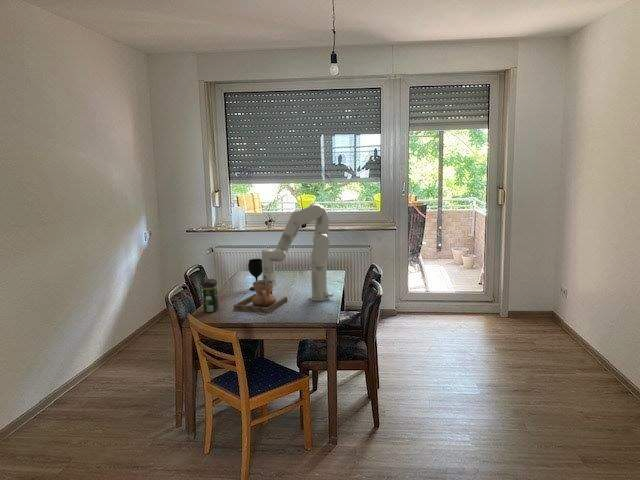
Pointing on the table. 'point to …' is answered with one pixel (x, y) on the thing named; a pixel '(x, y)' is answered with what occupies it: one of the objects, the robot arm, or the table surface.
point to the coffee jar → (210, 295)
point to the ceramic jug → (263, 294)
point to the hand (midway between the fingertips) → (269, 298)
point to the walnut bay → (243, 307)
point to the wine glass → (255, 269)
